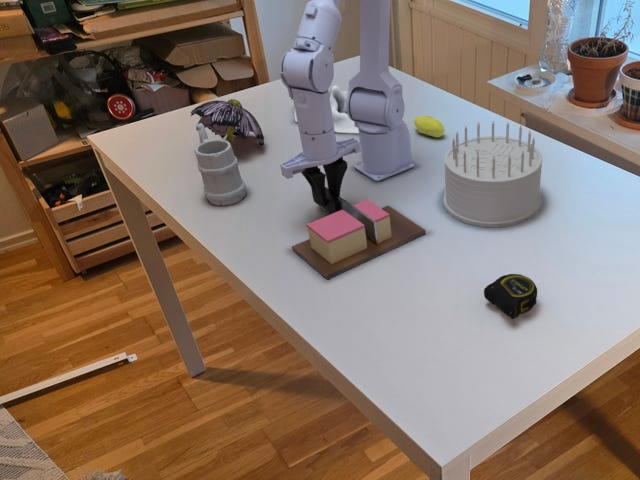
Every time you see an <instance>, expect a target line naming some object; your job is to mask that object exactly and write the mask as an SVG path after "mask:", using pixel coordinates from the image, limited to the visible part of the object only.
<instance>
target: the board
mask: <svg viewBox="0 0 640 480" xmlns="http://www.w3.org/2000/svg"><path fill="white" fill-rule="evenodd" d="M380 208H381V209H382V210H384V211H385V212H387V213H388V214H389V216H390V226H391V236H392V237H391V238H389V239H387V240H385V241H382V242H380V243H378V244H377V243H376V242H374V241H373V240H371V239H370V238H369V237H367V236H366V241H367V249H365V250H362V251H360V252H358V253H356V254H354V255H351V256H349V257H347V258H345V259H343V260H340V261H338V262H336V263H334V264H331V263H330V262H328V261H327V260H326V259H325V258H324V257H322V256H321V255H320V254H319V253H317V252H316V251H315V250H314V249H313V248H311V243H310V238H309V239H306V240H304V241H301V242H299V243H297V244H294V245H292V246H291V251H293V252H294V253H295V254H296V255H298V256H299V257H300V258H301V259H302V260H303V261H304V262H306V263H307V264H308V265H309V266H310V267H311V268H313V269H314V270H315V271H316V272H317V273H318V274H319V275H321V276H322V277H323V278H325V280H329V279H331V278H334V277H336V276H339V275H341V274H342V273H344V272H346V271H349V270H350V269H353V268H356V267H357V266H360V265H362V264H364V263H366V262H368V261H370V260H372V259H375V258H377V257H379V256H381V255H383V254H385V253H388V252H389V251H391V250H394V249H396V248H398V247H401V246H403V245H405V244H407V243H409V242H411V241H413V240H416V239H418V238H420V237H422V236H425V235H426V229H425V228H423V227H422V226H420V225H418V224H417V223H415V222H414V221H413V220H411V219H409V218H408V217H406V216H405V215H403V214H402V213H400V211H397V210H396V209H395V208H393V207H391V206H390V205H386V206H384V207H380Z"/></svg>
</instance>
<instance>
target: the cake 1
mask: <svg viewBox="0 0 640 480" xmlns="http://www.w3.org/2000/svg"><path fill="white" fill-rule="evenodd" d="M306 228H307V232H308V233H307V234H308V238H309V239H310V243H311V248H313V249H314V250H315V251H316V252H317V253H319V254H320V255H321V256H322V257H324V258H325V259H326V260H327V261H328V262H330V263H331V264H334V263H336V262H338V261H340V260H343V259H345V258H347V257H349V256H351V255H354V254H356V253H358V252H360V251H362V250H365V249H367V241H366V234H365V226H364V224H362V223H361V222H359V221H358V220H357V219H355V218H354V217H352V216H351V215H350V214H348V213H347V212H345V211H344V210H340V211H338V212H335V213H333V214H329V215H326V216H323V217H321V218H319V219H316V220H314V221H311V222H309V223H307V224H306Z"/></svg>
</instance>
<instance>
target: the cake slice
mask: <svg viewBox="0 0 640 480" xmlns="http://www.w3.org/2000/svg"><path fill="white" fill-rule="evenodd" d="M352 205H353V206H354V207H356V208H357V209H359V210H360V211H361V212H363V213H364V214H366V215H367V216H369V217H370V218H371V219H373V220H374V221H376V227H377V236H378V243H380V242H382V241H385V240H387V239H389V238H391V237H392V236H391V226H390V216H389V214H388V213H387V212H385V211H384V210H382V209H381V208H382V207H379V206H378V205H376V204H375V203H374V202H372V201H370V200H369V199H368V198H367V199H364V200H362V201H360V202H357V203H355V204H352ZM371 240H372V239H371ZM378 243H377V244H378Z"/></svg>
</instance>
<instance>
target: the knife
mask: <svg viewBox="0 0 640 480" xmlns="http://www.w3.org/2000/svg"><path fill="white" fill-rule="evenodd" d="M310 189H311V194H312V199H313V203H315V204H316V205H318V206H319V207H321V209H323V210H325V211H326V212H327V213H328V214H329V215H331V214H333V213H335V212H338V211H340V210H344V211H345V212H347V213H348V214H350V215H351V216H352V217H354V218H355V219H357V220H358V221H359V222H361V223H362V224H364V226H365V234H366V236H367V237H369V238H370V239H372V240H373V241H374V242H376V243H378V236H377V227H376V221H374V220H373V219H371V218H370V217H369V216H367V215H366V214H364V213H363V212H361V211H360V210H359V209H357V208H356V207H354V206H353V205H354V204H351V203H350V202H349V201H347V200H346V199H345V198H343V197H341V195H340V196H338V195H336V194H335V193H334V192H332V191H331V190H329V189H328V187H326V186H325V192H326V197H327V206H322V205H321V204H320V203H318V200H317V198H316V195H315V193H314V191H313V189H312V187H311V186H310Z"/></svg>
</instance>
